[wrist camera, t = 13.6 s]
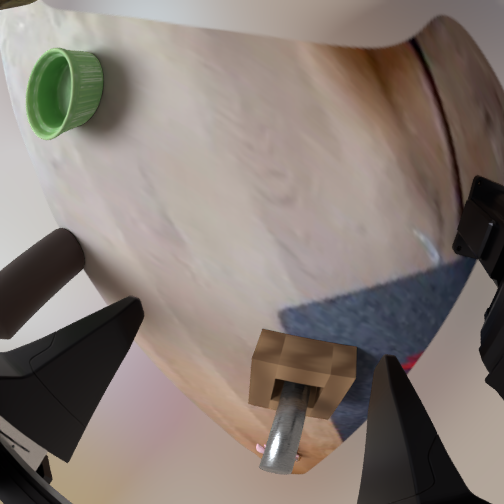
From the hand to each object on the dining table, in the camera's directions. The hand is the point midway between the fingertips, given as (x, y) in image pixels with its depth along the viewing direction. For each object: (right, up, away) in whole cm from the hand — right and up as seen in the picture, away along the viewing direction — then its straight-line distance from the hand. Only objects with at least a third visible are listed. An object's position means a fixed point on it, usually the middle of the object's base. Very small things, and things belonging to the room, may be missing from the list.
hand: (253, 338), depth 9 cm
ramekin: (-17, +19, +10) cm, 28 cm away
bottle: (-25, +3, +22) cm, 33 cm away
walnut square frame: (+6, -10, +20) cm, 23 cm away
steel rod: (+6, -10, +20) cm, 23 cm away
